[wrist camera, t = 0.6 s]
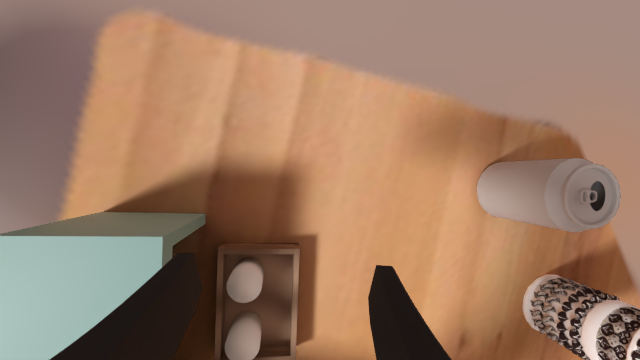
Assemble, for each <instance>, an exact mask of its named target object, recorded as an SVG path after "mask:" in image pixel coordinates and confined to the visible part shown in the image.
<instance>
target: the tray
mask: <svg viewBox="0 0 640 360" xmlns="http://www.w3.org/2000/svg"><path fill="white" fill-rule="evenodd" d="M299 256H300V248H299V244H298V243H222V245H221V246H220V247H219V248H218V263H217V295H216V326H215V358H214V360H230V359H229V358H228V357H227V355H226V353H225V342H226V339H227V336H228V333H229V330H230V327H231V324H232V321H233V319H234V317H235V316H236V315H237V314H239V313H240V312H243V311H253V312H255V313H257V314H258V315H259V316H260V317H261V320H262V333H261V341H260V349H259V352H258V354H257V355H256V356H255V358H253V359H252V360H296V336H297V309H298V283H299ZM246 257H253V258H256V259H258V260H259V261H260V262H261V263H262V265H263V267H264V277H263V283H262V289H261V292H260V294H259V295H258V296H257V298H255V299H254V300H253V301H250V302H247V303H239V302H236V301H234V300H233V299H232V298H231V297H230V296H229V294H228V292H227V281H228V279H229V277H230V275H231V273H232V271H233V269H234V267H235V265H236V263H237V262H238V261H239V260H241V259H243V258H246Z"/></svg>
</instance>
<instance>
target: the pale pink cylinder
mask: <svg viewBox="0 0 640 360" xmlns="http://www.w3.org/2000/svg"><path fill="white" fill-rule="evenodd" d="M263 277H264V267H263V265H262V263H261V262H260V261H259V260H258V259H256V258H253V257H246V258H243V259H241V260H239V261H238V262H237V263H236V265H235V267H234V269H233V271H232V273H231V275H230V277H229V279H228V281H227V292H228V294H229V296H230V297H231V298H232V299H233V300H234V301H236V302H239V303H247V302H250V301H253V300H254V299H255V298H257V296H258V295H259V294H260V292H261V289H262V283H263Z"/></svg>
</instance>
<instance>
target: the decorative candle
mask: <svg viewBox="0 0 640 360" xmlns="http://www.w3.org/2000/svg"><path fill="white" fill-rule="evenodd" d="M522 309H523V313H524V316H525V320H526V321H527V322H528V323H529V325H530V326H531V327H532V328H533V329H535V330H538V331H539V332H540V333H541V334H543V333H546V334H547V337H548V338H550V339H551V340H552V341H555V340H557V341H558V344H559V345H560V346H562V345H564V346H565V348H566V349H568V350H571V351H572V352H573V353H574V354H576V355H578V356H579V357H581V358H583V359H585V360H640V309H639V308H637V307H635V306H633V305H630V304H628V303H625V302H623V301H620V300H619V298H618V297H616V296H614V295H611V296H610V295H609V294H606V293H603V292H602V291H600V290H594V289H592V288H589V287H588V286H586V285H584V284H581V283H577V282H575V281H573V280H570V279H566V278H562V277H560V276H558V275H553V274H545V275H543V276H541V277H538V278H536V279H535V280H534V281H533V282H532V283H531V284H530V285H529V286H528V288H527V290H526V292H525V295H524V297H523V307H522Z"/></svg>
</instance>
